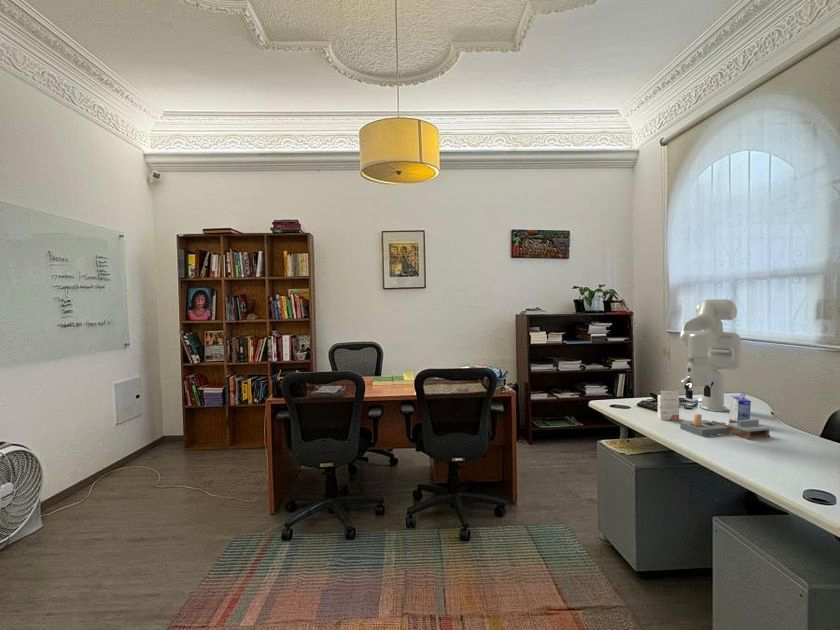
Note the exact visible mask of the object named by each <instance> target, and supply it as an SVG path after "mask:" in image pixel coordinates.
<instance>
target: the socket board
mask: <svg viewBox="0 0 840 630" xmlns="http://www.w3.org/2000/svg"><path fill="white" fill-rule="evenodd" d="M679 428H680V429H681V430H683V431H685V430H686V432H688V431H689V433H691V434H693V435H694V434H695V435H696V434H697V435H696V436H699V435H700V436H699V437H702V436H704V437H711V436H710V435H714V436H719V435H718V434H724V435H730V434H729V427H726V426H722V425H719V424H716V423H713V422H712V421H710V420H707V419H701V427H696V426H694V420H691V421H681V422H680V423H679Z"/></svg>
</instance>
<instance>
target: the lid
mask: <svg viewBox="0 0 840 630" xmlns="http://www.w3.org/2000/svg"><path fill="white" fill-rule="evenodd" d="M759 422H760V420H759V419H758V418H752V419H751V418H750V419H749V420H738V421H737V423H730V424H728V423H727V424H728V426H730V427H734V428H737V429H740V430H743V431H746V432H751V431H761V430H769V427H768V426H765V425H762V424H760V423H759Z"/></svg>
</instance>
